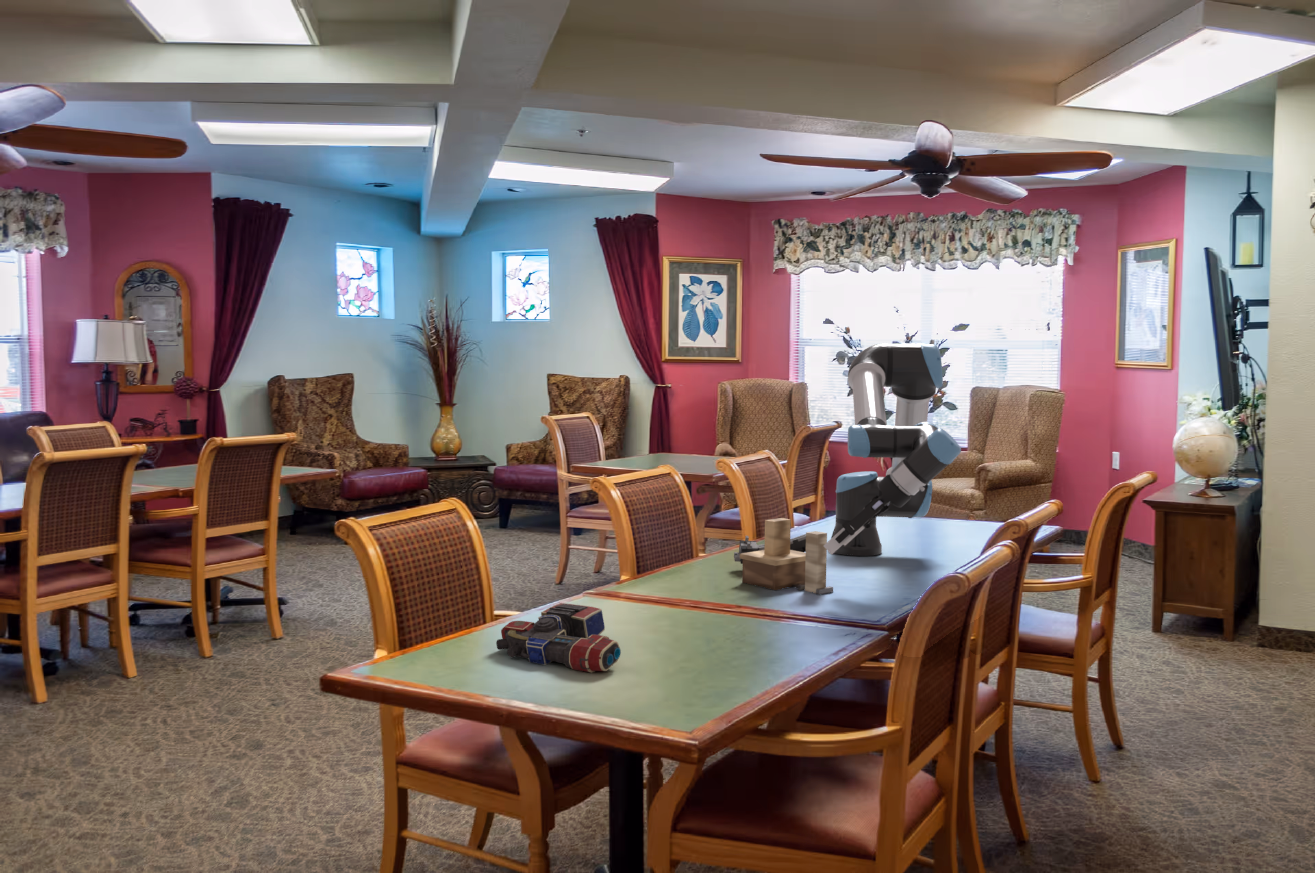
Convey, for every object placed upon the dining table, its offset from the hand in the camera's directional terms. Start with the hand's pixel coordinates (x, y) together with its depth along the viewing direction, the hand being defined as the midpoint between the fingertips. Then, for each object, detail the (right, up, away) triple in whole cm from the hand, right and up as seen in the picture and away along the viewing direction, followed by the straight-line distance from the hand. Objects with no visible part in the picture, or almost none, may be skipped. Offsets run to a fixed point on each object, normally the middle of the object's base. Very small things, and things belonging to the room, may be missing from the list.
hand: (834, 545), depth 232 cm
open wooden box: (-12, -11, +12) cm, 20 cm away
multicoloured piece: (-57, -15, -51) cm, 78 cm away
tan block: (-4, -11, +4) cm, 12 cm away
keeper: (-5, -11, +5) cm, 13 cm away
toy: (-11, -10, +28) cm, 31 cm away
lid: (-12, -5, +12) cm, 18 cm away
